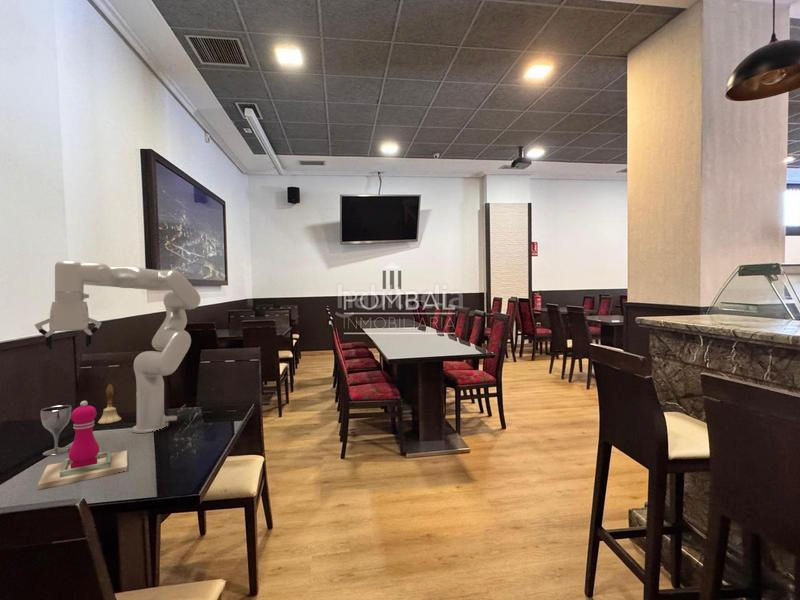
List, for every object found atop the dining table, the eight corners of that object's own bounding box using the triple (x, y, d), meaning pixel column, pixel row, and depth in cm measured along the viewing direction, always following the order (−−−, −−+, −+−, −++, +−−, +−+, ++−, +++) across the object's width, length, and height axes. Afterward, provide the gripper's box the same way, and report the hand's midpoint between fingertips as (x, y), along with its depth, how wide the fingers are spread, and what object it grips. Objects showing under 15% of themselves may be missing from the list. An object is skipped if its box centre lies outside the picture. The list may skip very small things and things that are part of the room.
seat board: (127, 454, 130) (127, 445, 130) (127, 471, 117) (127, 461, 117) (47, 470, 118) (47, 460, 119) (37, 490, 105) (37, 479, 106)
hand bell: (96, 420, 170) (96, 384, 170) (119, 417, 176) (119, 381, 176) (98, 425, 164) (98, 387, 164) (122, 420, 170) (122, 384, 170)
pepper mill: (81, 472, 113) (81, 404, 113) (61, 471, 114) (61, 403, 114) (105, 462, 120) (105, 398, 120) (86, 461, 121) (86, 397, 121)
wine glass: (36, 457, 129) (36, 412, 129) (45, 449, 136) (45, 407, 136) (67, 453, 132) (67, 409, 132) (74, 445, 139) (74, 404, 140)
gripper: (101, 297, 140) (101, 345, 140) (37, 297, 130) (37, 348, 130) (100, 297, 134) (101, 346, 134) (32, 297, 124) (32, 350, 124)
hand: (69, 347), depth 132 cm, fingers open, 9 cm apart
